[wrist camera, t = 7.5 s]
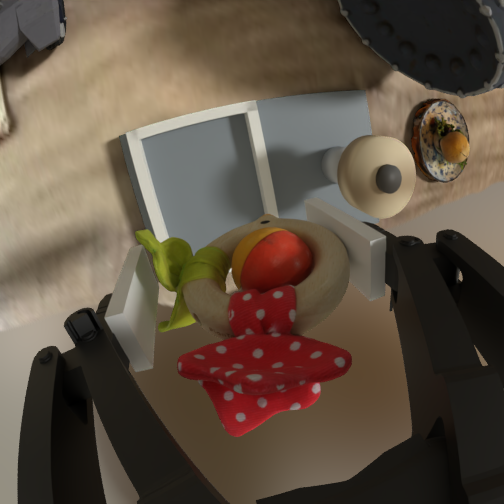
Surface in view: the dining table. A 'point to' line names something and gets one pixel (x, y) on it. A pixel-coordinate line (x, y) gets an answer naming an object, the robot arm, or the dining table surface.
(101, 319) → the robot arm
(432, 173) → the burger
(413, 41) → the dotted grey bowl
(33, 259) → the dining table surface
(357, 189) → the wheel
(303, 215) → the board
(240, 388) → the bird rattle
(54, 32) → the toy tank
